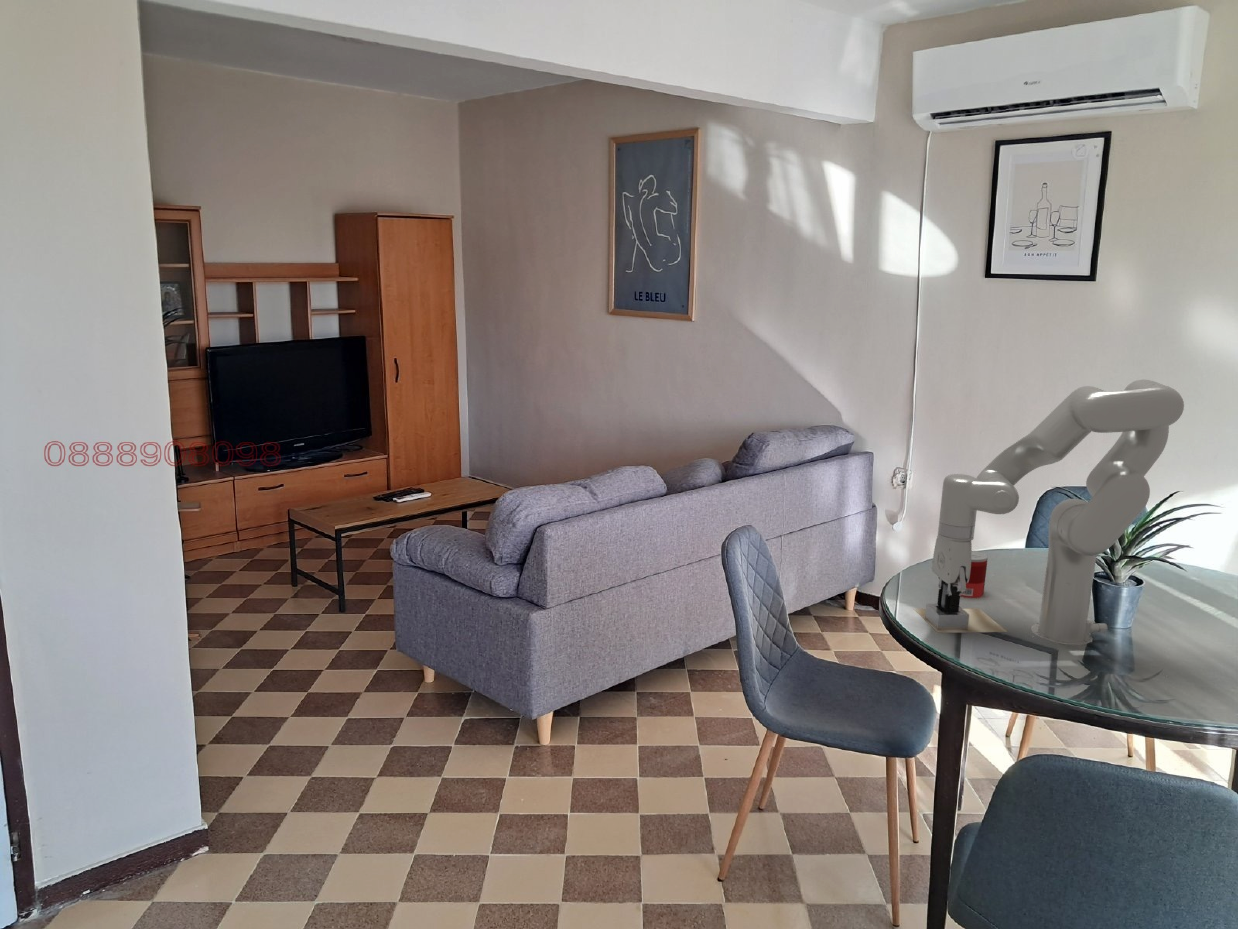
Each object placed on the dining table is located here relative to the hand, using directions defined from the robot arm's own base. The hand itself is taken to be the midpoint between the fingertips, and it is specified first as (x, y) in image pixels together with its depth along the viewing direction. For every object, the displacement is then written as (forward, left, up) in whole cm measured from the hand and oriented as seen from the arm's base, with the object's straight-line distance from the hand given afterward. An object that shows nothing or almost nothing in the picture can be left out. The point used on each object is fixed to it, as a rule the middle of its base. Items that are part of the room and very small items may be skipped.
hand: (947, 607), depth 215 cm
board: (-4, -2, -5) cm, 7 cm away
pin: (0, 0, -2) cm, 2 cm away
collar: (0, 0, -4) cm, 4 cm away
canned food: (-14, -20, -5) cm, 25 cm away
